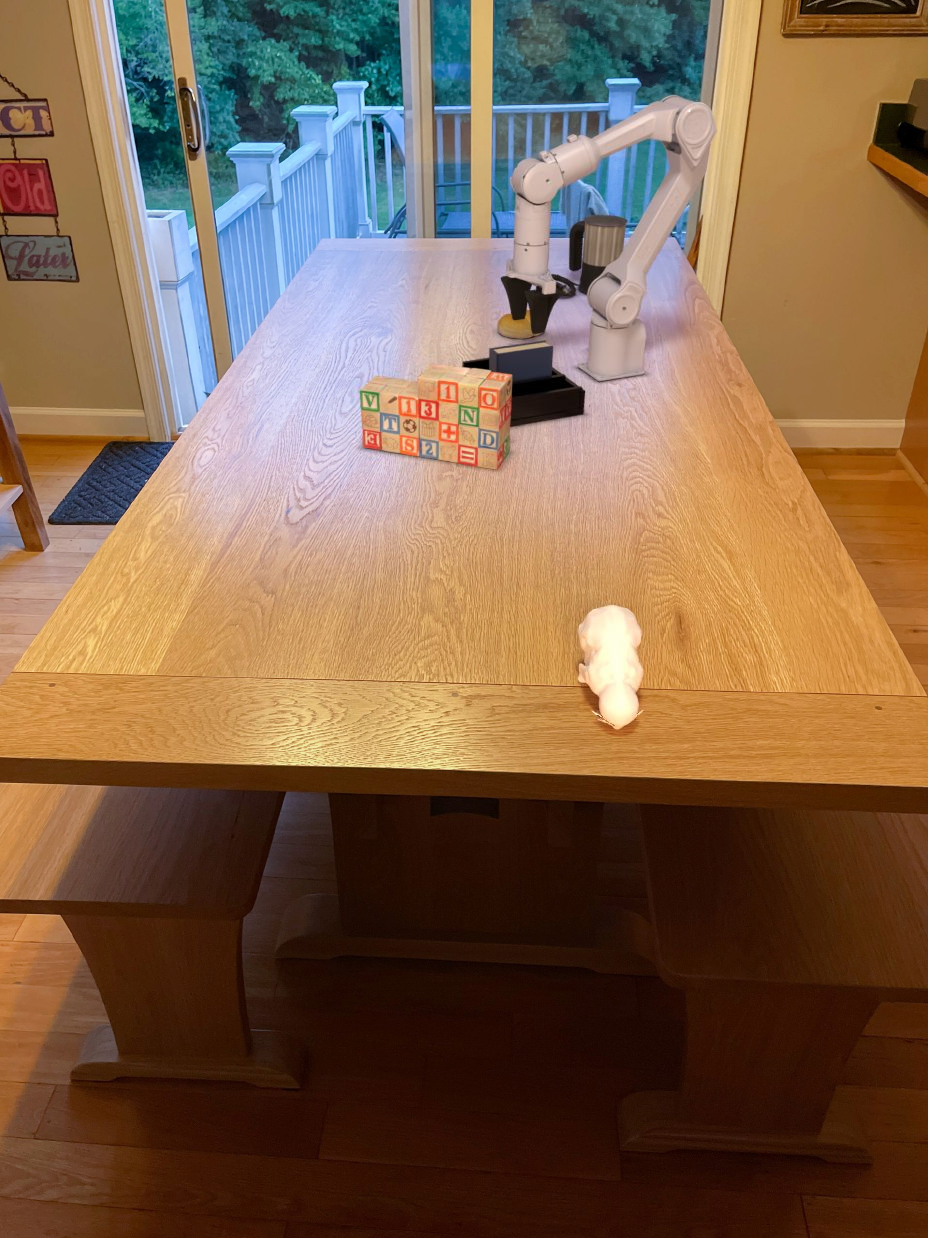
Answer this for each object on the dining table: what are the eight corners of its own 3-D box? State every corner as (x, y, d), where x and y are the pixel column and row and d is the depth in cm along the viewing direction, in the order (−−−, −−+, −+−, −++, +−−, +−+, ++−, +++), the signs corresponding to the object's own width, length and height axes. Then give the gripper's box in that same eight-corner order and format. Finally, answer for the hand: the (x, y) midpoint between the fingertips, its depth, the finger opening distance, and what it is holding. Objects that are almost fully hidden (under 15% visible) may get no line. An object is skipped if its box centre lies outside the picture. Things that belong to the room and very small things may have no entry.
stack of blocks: (361, 448, 145) (357, 369, 138) (378, 432, 150) (374, 354, 143) (498, 470, 139) (500, 388, 132) (510, 452, 144) (513, 372, 137)
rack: (533, 375, 170) (534, 350, 167) (583, 414, 156) (585, 387, 153) (459, 386, 165) (459, 361, 163) (504, 427, 151) (505, 400, 149)
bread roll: (490, 330, 190) (490, 310, 187) (528, 323, 193) (529, 303, 191) (512, 342, 184) (513, 321, 181) (551, 334, 187) (552, 314, 185)
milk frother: (628, 288, 213) (635, 217, 205) (596, 306, 202) (602, 232, 194) (570, 278, 219) (575, 209, 211) (537, 295, 208) (540, 223, 200)
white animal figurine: (642, 595, 96) (663, 679, 87) (632, 658, 102) (650, 743, 93) (579, 596, 96) (593, 680, 87) (572, 659, 102) (585, 744, 92)
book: (542, 386, 163) (545, 340, 158) (550, 393, 160) (553, 345, 156) (488, 395, 159) (489, 348, 155) (495, 402, 157) (496, 354, 153)
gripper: (490, 233, 159) (489, 316, 167) (528, 255, 148) (525, 342, 156) (529, 229, 161) (525, 311, 169) (569, 250, 150) (564, 336, 158)
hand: (528, 325), depth 163 cm, fingers open, 7 cm apart
